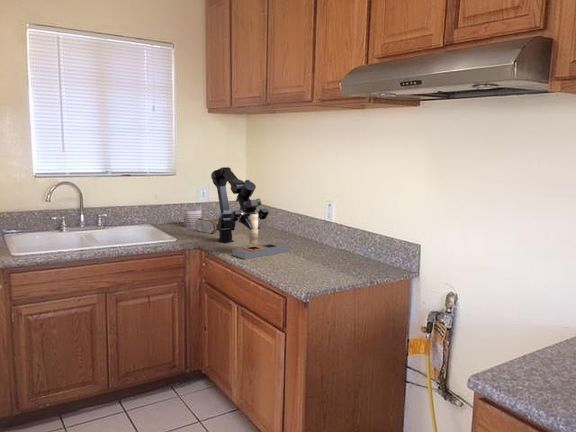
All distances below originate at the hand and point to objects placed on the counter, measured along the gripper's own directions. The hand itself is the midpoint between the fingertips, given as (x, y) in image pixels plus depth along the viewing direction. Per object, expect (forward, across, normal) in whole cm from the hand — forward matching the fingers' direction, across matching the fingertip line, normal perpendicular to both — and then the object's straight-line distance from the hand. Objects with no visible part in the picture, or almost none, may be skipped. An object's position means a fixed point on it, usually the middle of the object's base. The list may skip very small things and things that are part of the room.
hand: (255, 229), depth 232 cm
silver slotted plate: (+8, +5, +11) cm, 14 cm away
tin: (-35, 0, +54) cm, 64 cm away
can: (-50, 0, +70) cm, 86 cm away
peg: (+4, 0, +6) cm, 7 cm away
